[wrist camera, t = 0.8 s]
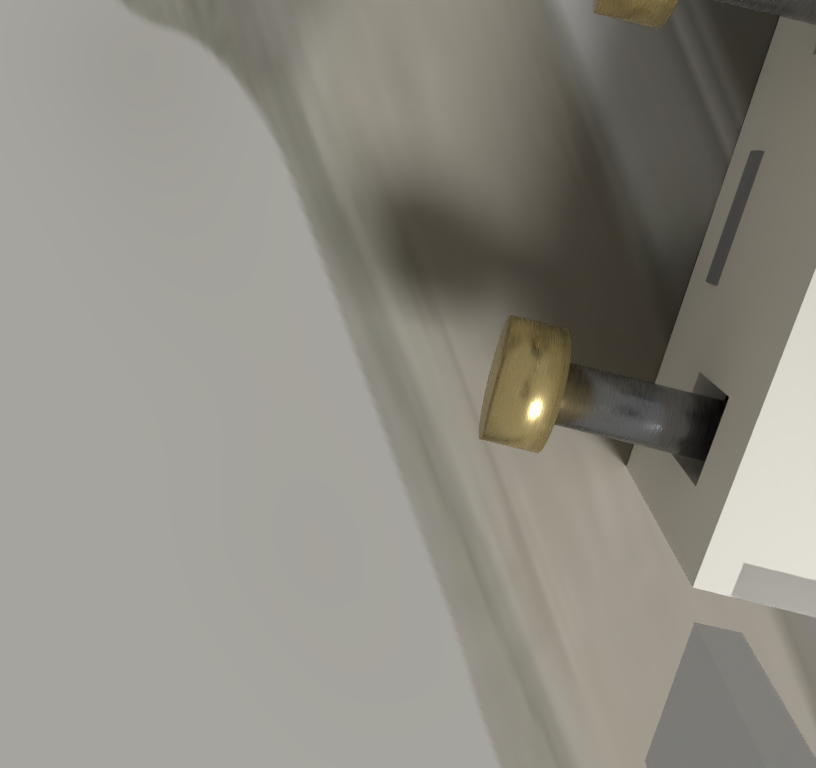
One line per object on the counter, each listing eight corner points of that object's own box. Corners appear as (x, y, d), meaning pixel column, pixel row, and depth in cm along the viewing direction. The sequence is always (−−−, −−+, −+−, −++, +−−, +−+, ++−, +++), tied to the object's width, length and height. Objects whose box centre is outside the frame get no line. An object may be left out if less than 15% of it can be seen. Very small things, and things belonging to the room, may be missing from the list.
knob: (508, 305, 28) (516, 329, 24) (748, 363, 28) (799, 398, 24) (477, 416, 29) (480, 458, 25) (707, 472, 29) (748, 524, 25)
